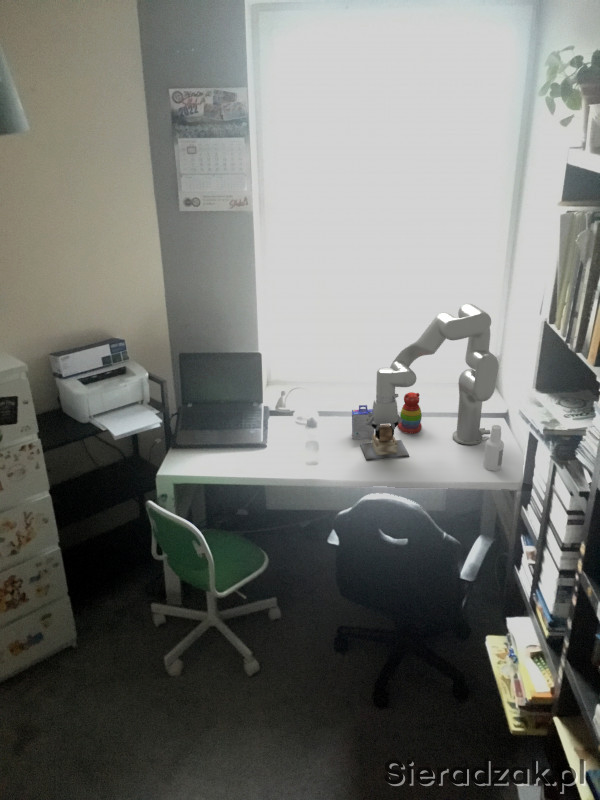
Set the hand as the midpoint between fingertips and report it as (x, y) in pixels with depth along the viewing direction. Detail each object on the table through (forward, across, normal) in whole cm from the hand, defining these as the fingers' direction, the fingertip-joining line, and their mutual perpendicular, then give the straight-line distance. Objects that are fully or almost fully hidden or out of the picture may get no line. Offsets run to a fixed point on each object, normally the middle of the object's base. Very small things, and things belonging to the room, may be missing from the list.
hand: (384, 436), depth 268 cm
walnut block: (+1, 0, 0) cm, 1 cm away
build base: (+7, 0, 0) cm, 7 cm away
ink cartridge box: (+7, +6, -14) cm, 17 cm away
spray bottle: (+7, -40, +20) cm, 45 cm away
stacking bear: (+7, -16, -18) cm, 25 cm away
